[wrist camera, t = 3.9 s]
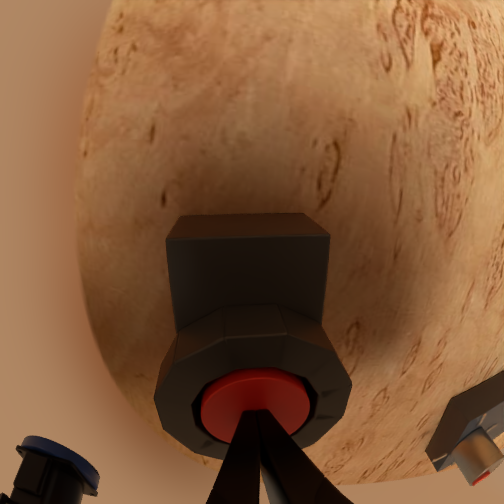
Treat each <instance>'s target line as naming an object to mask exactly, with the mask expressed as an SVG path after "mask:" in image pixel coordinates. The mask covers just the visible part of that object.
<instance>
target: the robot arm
mask: <svg viewBox="0 0 504 504" xmlns="http://www.w3.org/2000/svg"><path fill="white" fill-rule="evenodd" d="M16 450H17V452H18V453H19V454H20V455H21V457H22V458H23V461H22V463H21V465H20V468H19V470H18V473H17V475H16V478H15V480H14V483H13V484H14V488H13V491H12V493H11V496H10V498H9V497H8V496H7V495H6V494H4V493H1V494H0V504H81V500H82V496H83V494H86V495H90V496H95V497H96V496H97V494H98V492H97V491H96V490H95V489H94V487H93V486H92V485H91V484H90V483H89V482H88V480H87V479H86V478H85V477H84V475H83V474H82V473H81V472H80V470H79V469H78V468H77V466H76V465H75V464H74V463H73V462H72V461H70V460H67V459H63V458H59V457H55V456H52V455H48V454H45V453H41V452H38V451H35V450H31V449H28V448H25V447H22V446H19V445H17V447H16ZM260 469H261V474H262V477H263V481H264V484H265V488H266V491H267V495H268V499H269V502H270V504H354V503H352V502H351V501H350V500H349V499H348V498H346V497H345V496H344V495H343V494H342V493H341V492H340V491H339V490H338V489H337V488H336V487H335V486H334V485H333V484H332V483H331V482H330V481H329V480H328V479H327V478H326V477H325V476H324V474H323V473H322V472H321V471H320V470H319V469H318V468H317V467H316V466H315V464H314V463H313V462H312V461H311V460H310V459H309V458H308V456H307V455H306V454H305V453H304V452H303V451H302V449H301V448H300V447H299V446H298V445H297V444H296V442H295V441H294V440H293V439H292V438H291V436H290V435H289V434H288V433H287V432H286V430H285V429H284V428H283V427H282V425H281V424H280V423H279V422H278V421H277V419H276V418H275V417H274V416H273V414H272V413H271V412H270V411H269V410H268V409H259V410H256V412H255V410H245V411H243V412H242V414H241V416H240V419H239V422H238V424H237V427H236V430H235V432H234V435H233V438H232V440H231V443H230V445H229V448H228V451H227V453H226V456H225V458H224V461H223V463H222V466H221V468H220V471H219V473H218V476H217V479H216V481H215V483H214V486H213V489H212V490H211V493H210V495H209V498H208V500H207V502H206V504H259V491H260V490H259V489H260Z"/></svg>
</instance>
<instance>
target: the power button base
mask: <svg viewBox="0 0 504 504" xmlns="http://www.w3.org/2000/svg"><path fill="white" fill-rule="evenodd" d="M329 248H330V234H329V233H328V232H327V231H326V230H324V229H323V228H322V227H321V226H319V225H318V224H317V223H316V222H314V221H313V220H312V219H311V218H309V217H308V216H307V215H306V214H304V213H263V214H221V215H192V216H180V217H179V218H178V219H177V221H176V223H175V224H174V226H173V228H172V230H171V231H170V233H169V235H168V236H167V238H166V252H167V262H168V272H169V281H170V290H171V298H172V306H173V313H174V321H175V328H176V334H177V335H176V336H175V338H174V340H173V342H172V344H171V346H170V348H169V349H168V351H167V353H166V355H165V357H164V359H163V361H162V363H161V366H160V370H159V375H158V379H157V384H156V389H155V394H154V401H155V405H156V408H157V411H158V415H159V418H160V421H161V424H162V427H163V429H164V430H165V431H166V432H167V433H169V434H170V435H171V436H172V437H174V438H175V439H176V440H178V441H179V442H180V443H182V444H183V445H184V446H186V447H187V448H188V449H190V450H191V451H193V452H194V453H197V454H200V455H204V456H208V457H212V458H216V459H220V460H224V458H225V456H226V453H227V451H228V448H229V445H230V443H228V442H225V441H223V440H220V439H218V438H216V437H215V436H213V435H212V434H211V433H210V432H209V431H208V430H207V429H206V428H205V426H204V424H203V423H202V419H201V392H202V388H203V387H204V385H205V384H206V383H208V382H210V381H213V380H215V379H217V378H219V377H221V376H223V375H226V374H228V373H230V372H232V371H234V370H236V369H251V368H266V367H276V368H279V369H282V370H285V371H287V372H290V373H293V374H296V375H299V376H301V378H302V381H303V384H304V387H305V390H306V393H307V396H308V398H309V402H310V410H309V414H308V416H307V418H306V420H305V421H304V423H303V424H302V425H301V426H300V427H299V428H298V429H297V430H296V431H295V432H293V433H292V434H290V436H291V438H292V439H293V440H294V441H295V442H296V444H297V445H298V446H299V447H300V448H301V449H303V448H305V447H308V446H310V445H312V444H314V443H315V442H317V441H318V440H319V439H320V438H321V437H322V436H323V435H324V434H326V433H327V432H328V431H329V430H330V429H331V428H332V427H333V426H334V425H335V424H336V423H337V422H338V421H339V420H340V419H341V418H342V416H343V415H344V412H345V409H346V406H347V402H348V399H349V395H350V392H351V388H352V381H351V379H350V377H349V375H348V373H347V371H346V369H345V368H344V366H343V364H342V362H341V360H340V358H339V356H338V355H337V353H336V351H335V349H334V347H333V345H332V344H331V342H330V340H329V338H328V336H327V335H326V333H325V331H324V329H323V328H322V326H321V325H322V317H323V309H324V300H325V291H326V281H327V271H328V260H329Z"/></svg>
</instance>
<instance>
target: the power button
mask: <svg viewBox="0 0 504 504" xmlns="http://www.w3.org/2000/svg"><path fill="white" fill-rule="evenodd" d="M259 409H268V410H269V411H270V412H271V413H272V414H273V416H274V417H275V418H276V419H277V421H278V422H279V423H280V424H281V425H282V427H283V428H284V429H285V430H286V432H287V433H288V434H289V435H290V434H292V433H293V432H295V431H296V430H297V429H298V428H299V427H300V426H301V425H302V424H303V423H304V421H305V420H306V418H307V416H308V414H309V410H310V402H309V398H308V396H307V393H306V390H305V387H304V384H303V381H302V378H301V376H299V375H296V374H293V373H290V372H287V371H285V370H282V369H279V368H276V367H266V368H251V369H236V370H234V371H232V372H230V373H228V374H226V375H223V376H221V377H219V378H217V379H215V380H213V381H210V382H208V383H206V384H205V385H204V387H203V388H202V392H201V419H202V423H203V424H204V426H205V428H206V429H207V430H208V431H209V432H210V433H211V434H212V435H213V436H215V437H216V438H218V439H220V440H223V441H225V442H228V443H231V440H232V438H233V435H234V432H235V430H236V427H237V424H238V422H239V419H240V416H241V414H242V412H243V411H245V410H255V412H256V410H259Z"/></svg>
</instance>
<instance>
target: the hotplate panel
mask: <svg viewBox="0 0 504 504" xmlns="http://www.w3.org/2000/svg"><path fill="white" fill-rule="evenodd" d="M479 428H483V429H484V430H485V431H486V432H487V434H488V435H489V436H490V438H491V439H492V440H493V439H494V438H496V437H497V436H499V435H500V434H501V433H503V432H504V371H502V372H500V373H499V374H497V375H495V376H494V377H492V378H490V379H488V380H487V381H485V382H483V383H481V384H479V385H477V386H476V387H474V388H472V389H470V390H468V391H466V392H464V393H462V394H460V395H458V396H456V397H454V398H452V399H451V400H450V402H449V404H448V407H447V409H446V411H445V413H444V415H443V418H442V420H441V422H440V424H439V426H438V428H437V430H436V432H435V434H434V436H433V438H432V439H431V441H430V443H429V445H428V447H427V449H426V450H425V452H426V453H427V455H428V457H429V458H430V460H431V462H432V464H433V465H434V467H435V469H436V470H437V472H438V471H440V470H442V469H444V468H446V467H448V466H450V465H451V466H452V465H454V464H455V463H456V462H455V461H454V459H453V458H452V456H451V453H452V451H453V450H454V448H455V447H456V446H457V445H458V444H459V443H460V442H461V441H462V440H463V439H464V438H465V437H467V436H468V435H469V434H471V433H472V432H474V431H475V430H477V429H479Z"/></svg>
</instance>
